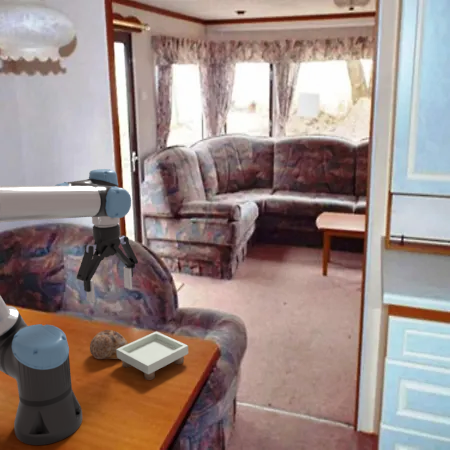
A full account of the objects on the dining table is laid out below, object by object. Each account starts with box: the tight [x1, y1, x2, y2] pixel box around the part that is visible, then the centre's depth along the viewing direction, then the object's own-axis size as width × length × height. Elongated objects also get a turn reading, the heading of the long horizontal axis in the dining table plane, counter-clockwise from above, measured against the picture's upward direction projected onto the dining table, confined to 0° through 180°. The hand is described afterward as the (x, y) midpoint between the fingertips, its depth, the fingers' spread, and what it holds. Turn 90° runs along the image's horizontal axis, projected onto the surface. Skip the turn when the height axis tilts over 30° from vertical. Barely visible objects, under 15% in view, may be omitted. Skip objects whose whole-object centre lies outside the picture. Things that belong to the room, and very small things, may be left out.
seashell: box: [89, 329, 129, 360], centre depth 150 cm, size 10×9×10 cm
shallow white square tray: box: [116, 330, 189, 381], centre depth 145 cm, size 15×14×5 cm
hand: (110, 294), depth 147 cm, fingers open, 13 cm apart
